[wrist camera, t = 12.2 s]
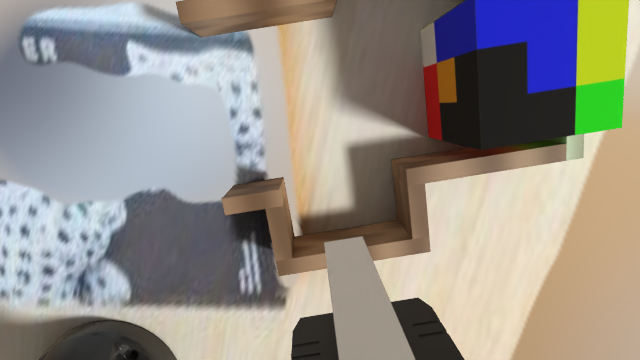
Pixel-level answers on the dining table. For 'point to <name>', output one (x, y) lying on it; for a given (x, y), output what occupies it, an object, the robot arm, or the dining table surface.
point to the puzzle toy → (524, 70)
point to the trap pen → (408, 173)
